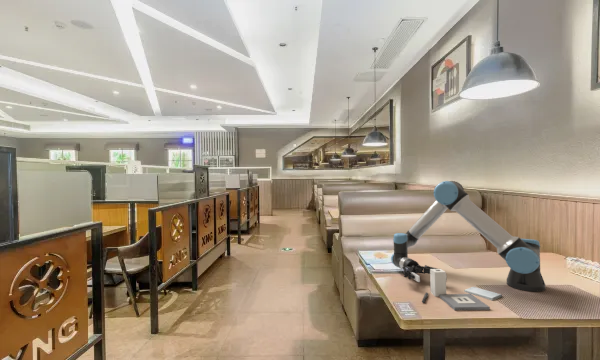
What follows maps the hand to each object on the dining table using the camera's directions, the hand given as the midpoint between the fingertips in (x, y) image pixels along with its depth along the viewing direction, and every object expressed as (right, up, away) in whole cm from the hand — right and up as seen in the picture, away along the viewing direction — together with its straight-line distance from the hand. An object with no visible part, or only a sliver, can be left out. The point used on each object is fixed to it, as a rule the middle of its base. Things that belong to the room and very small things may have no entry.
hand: (432, 278), depth 141 cm
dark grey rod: (-7, -6, -8) cm, 12 cm away
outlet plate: (+7, -6, -13) cm, 16 cm away
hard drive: (+21, -7, -4) cm, 22 cm away
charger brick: (+1, -6, -3) cm, 7 cm away
